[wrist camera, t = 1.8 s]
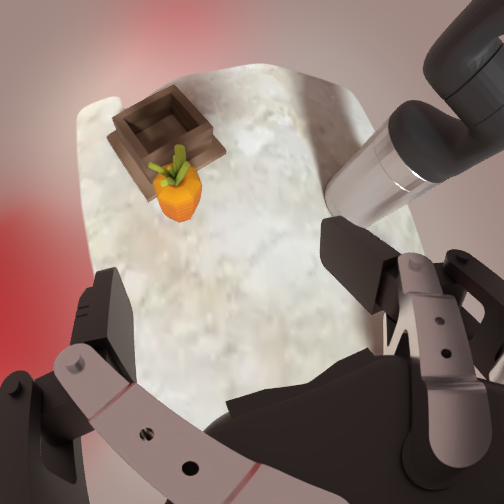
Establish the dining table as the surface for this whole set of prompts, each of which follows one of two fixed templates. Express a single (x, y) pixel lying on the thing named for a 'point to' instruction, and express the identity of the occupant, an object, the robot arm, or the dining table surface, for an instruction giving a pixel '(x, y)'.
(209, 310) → the dining table surface
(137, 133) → the socket block
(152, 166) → the carrot
